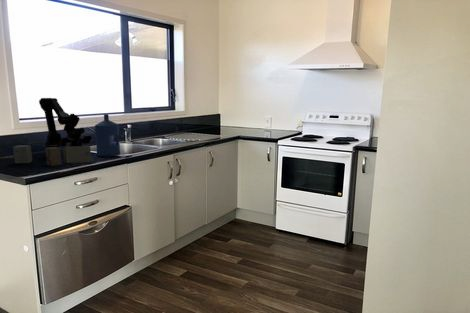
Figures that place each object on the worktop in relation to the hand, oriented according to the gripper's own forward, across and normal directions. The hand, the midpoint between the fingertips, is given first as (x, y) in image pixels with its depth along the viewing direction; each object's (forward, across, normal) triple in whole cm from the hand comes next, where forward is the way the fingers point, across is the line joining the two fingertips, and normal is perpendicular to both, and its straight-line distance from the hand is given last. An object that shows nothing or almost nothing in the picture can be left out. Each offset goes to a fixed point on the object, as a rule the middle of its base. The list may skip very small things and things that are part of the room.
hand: (81, 151), depth 226 cm
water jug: (-3, +25, +13) cm, 29 cm away
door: (+5, -3, +5) cm, 7 cm away
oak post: (+1, -14, +10) cm, 17 cm away
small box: (-14, -24, +25) cm, 37 cm away
